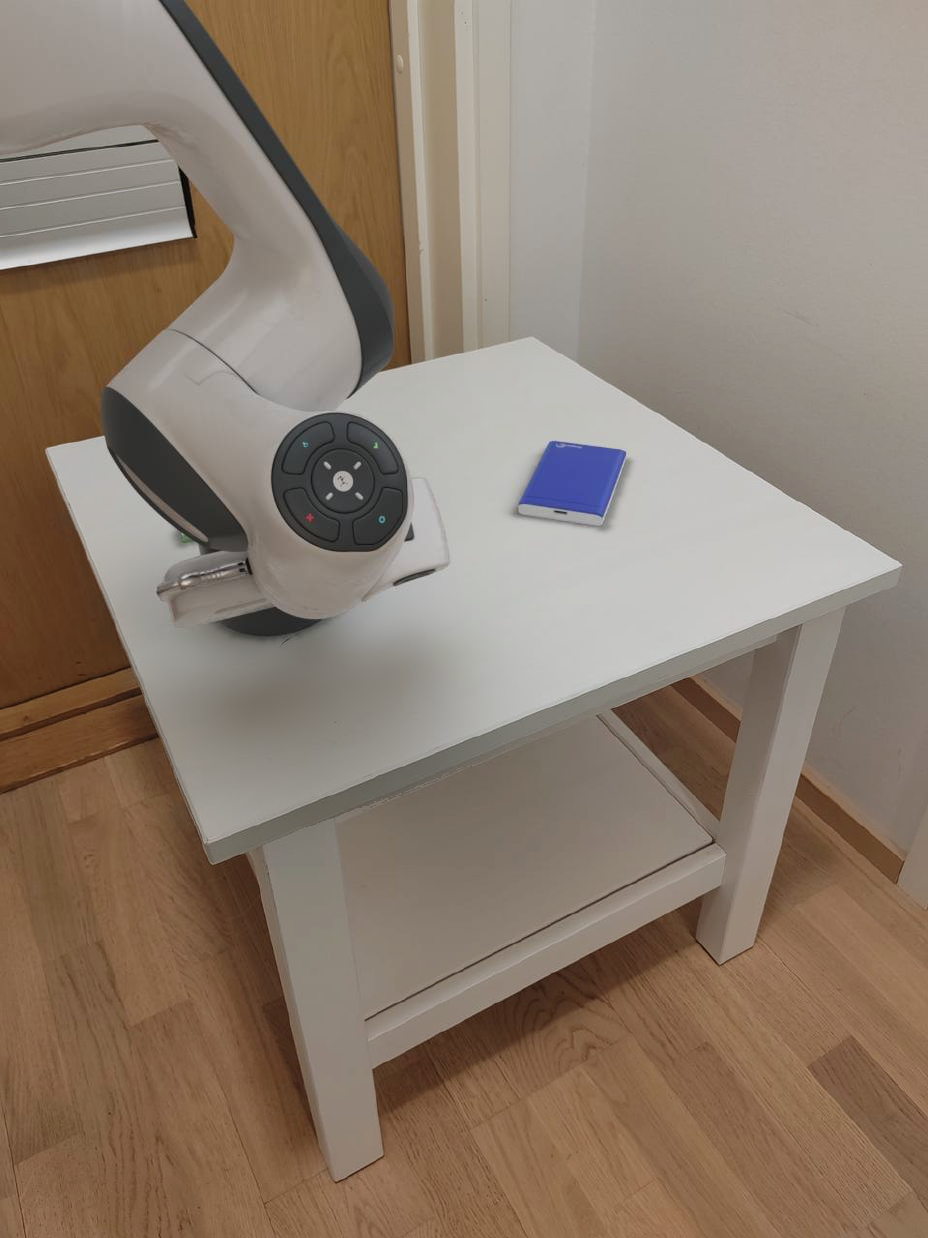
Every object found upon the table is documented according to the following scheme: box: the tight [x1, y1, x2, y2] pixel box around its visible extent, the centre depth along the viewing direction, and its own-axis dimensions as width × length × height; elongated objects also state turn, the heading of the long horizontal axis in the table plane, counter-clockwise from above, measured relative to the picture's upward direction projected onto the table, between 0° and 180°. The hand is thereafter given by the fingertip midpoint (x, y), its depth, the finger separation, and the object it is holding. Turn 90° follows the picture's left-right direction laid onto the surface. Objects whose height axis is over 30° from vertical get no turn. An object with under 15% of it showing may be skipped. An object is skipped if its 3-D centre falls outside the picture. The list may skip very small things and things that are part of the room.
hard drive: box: [518, 440, 627, 527], centre depth 95 cm, size 2×8×12 cm
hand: (302, 586), depth 75 cm, fingers closed
